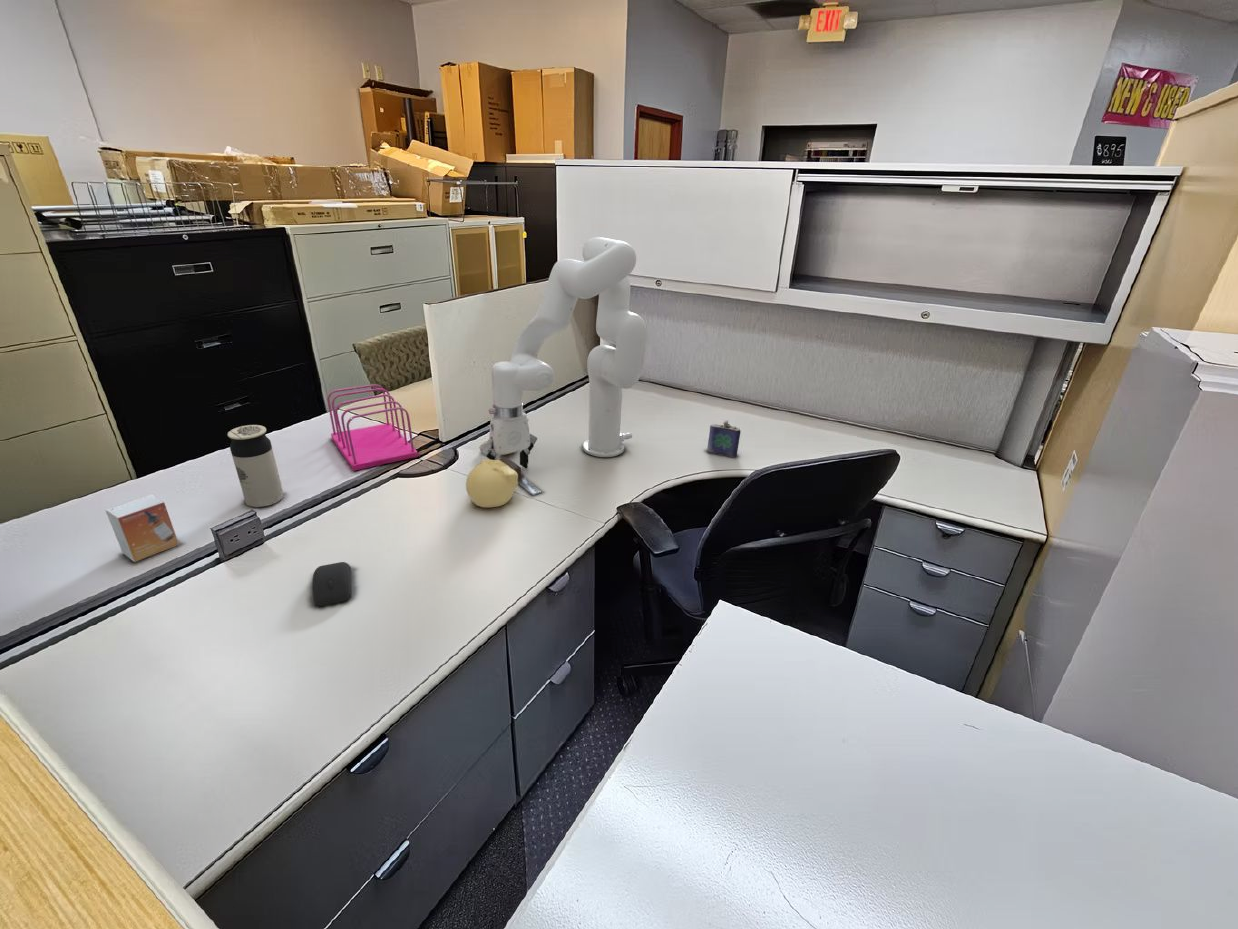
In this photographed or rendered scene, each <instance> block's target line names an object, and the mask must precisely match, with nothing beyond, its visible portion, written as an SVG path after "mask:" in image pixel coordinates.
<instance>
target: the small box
mask: <svg viewBox="0 0 1238 929" xmlns="http://www.w3.org/2000/svg"><path fill="white" fill-rule="evenodd" d="M105 514H106V515H107V518H108V520H109V523H110V525H111V528H112V530H113V533H114V536H115V537H116V541H117V542H118V545H119V548H120V550H121V553H122V554H123V555H125V556H126V557H127V558H128V559H130V560H131V561H132V562H134V563H137V562H139V561H142V560H144V559H146V558H148V557H149V558H150V557H151V556H154V555H156V554H158V553H161V552H164V551H167V550H170V549H172V548H175V547H178V546H179V545H180V544H179V540H178V538H177V534H176V532H175V529H174V526H173V524H172V523H173V522H172V519H171V517H170V514H169V511H168V509H167V506H166V503H165V502H164V501H162V500H161V499H159V498H158V497H156V496H155V495H153V494H152V493H151V494H149V495H146V496H144V497H140V498H138V499H135V500H132V501H129V502H126V503H123V504H120V505H116V506H114V507H110V508H106V509H105Z"/></svg>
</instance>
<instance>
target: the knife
mask: <svg viewBox="0 0 1238 929" xmlns="http://www.w3.org/2000/svg"><path fill="white" fill-rule="evenodd" d="M499 460H500V461H502V462H503V463H505V464H506V465H508V466H509V467H510V468H511V469H513V470H514V471H516V472H517V474H518V484H517V485H519V486H520V487H521V488H523V489H524V490H525V491H527V493H529V494H530V495H532V496H535V495H537V494H542V491H541V489H540V488H538V487H536V486H535V485H534V484H533V483H531V482H530V481H529V480H528V479H526V478H525V477H524V476H523V475H522V466H519V465H518V464H517V463H516V462H514V461H513V460H512V459H511V458H510V457H508V456H505V457H500V458H499Z"/></svg>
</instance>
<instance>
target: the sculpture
mask: <svg viewBox="0 0 1238 929" xmlns="http://www.w3.org/2000/svg"><path fill="white" fill-rule="evenodd" d="M518 485H519V484H518V474H517V472H516V471H514V470H513V469H511V468H510V467H509V466H508V465H506V464H505V463H503V462H502V461H500V459H499V460H490V459H488V458H484V459H481V461H480V463H479V464H477V465H475V466H474V467H473V468H472V469H471V470H470V471H469V472H468V475H467V476H466V481H465V490H466V494H467V495H468V497H469V499H470V500H471V501H472V503H473V504H474V505H476V506H478V507H480V508H497V507H501V506H503V505H505V504H506V503H508V502H509V501H510V500H511V499H512V497H513V495H514V493H515V491H516V490H517V489H518Z"/></svg>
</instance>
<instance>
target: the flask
mask: <svg viewBox="0 0 1238 929" xmlns="http://www.w3.org/2000/svg"><path fill="white" fill-rule="evenodd" d="M729 422H730V420H724V421H723V422H722V423H723V424H717V423H711V424H710V425H709V433H708V440H707V447H706V453H709V454H711V455H712V454H714V455H718V456H725V457H730V458H737V455H738V451H739V444H740V439H741V429H740V428H739V427H737V426H735V425H731V424H730V423H729Z"/></svg>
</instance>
